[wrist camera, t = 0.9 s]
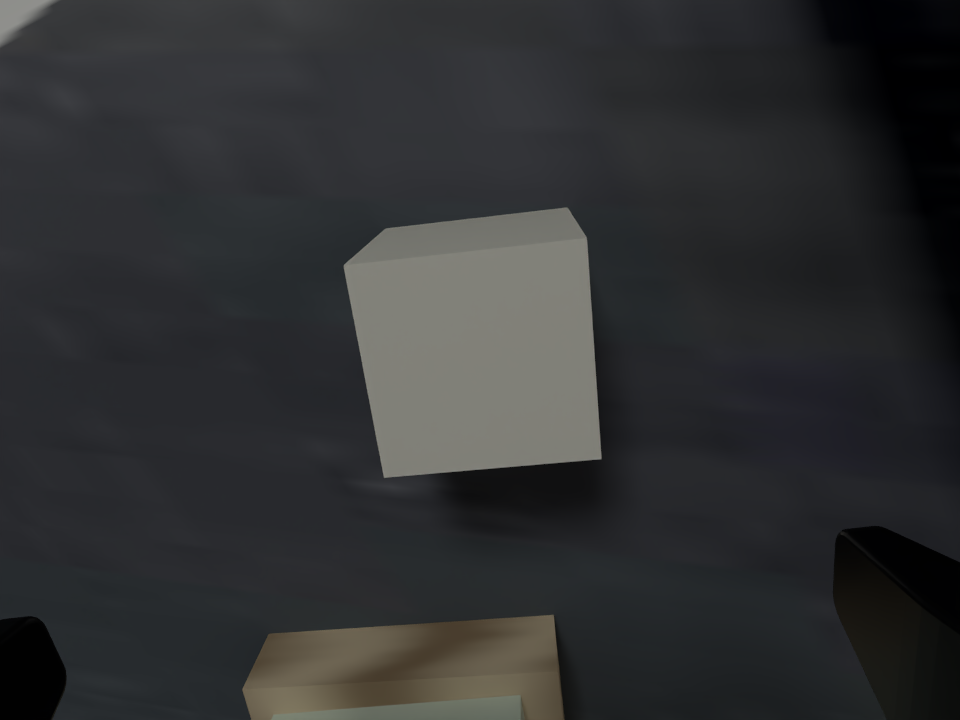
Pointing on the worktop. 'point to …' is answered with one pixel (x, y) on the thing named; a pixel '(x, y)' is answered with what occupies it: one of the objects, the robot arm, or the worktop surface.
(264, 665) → the oak slab
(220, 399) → the worktop surface
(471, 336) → the cream block
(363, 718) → the sage block
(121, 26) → the worktop surface
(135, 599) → the worktop surface
